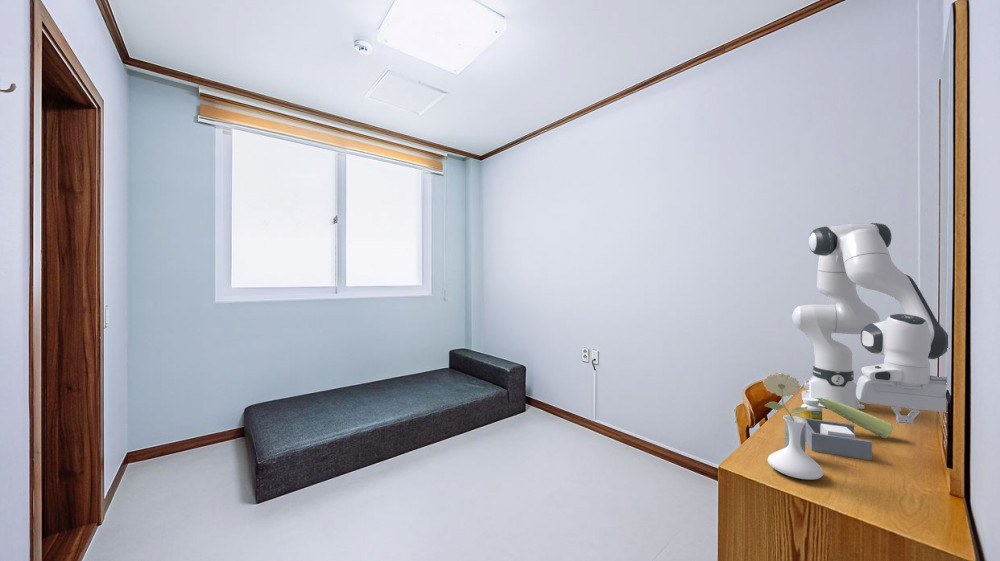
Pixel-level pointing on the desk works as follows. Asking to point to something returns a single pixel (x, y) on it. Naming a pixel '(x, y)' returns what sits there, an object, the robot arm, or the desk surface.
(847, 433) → the white cube
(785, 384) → the flower in vase
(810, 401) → the supplement bottle
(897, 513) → the desk surface
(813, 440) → the box
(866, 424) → the tube
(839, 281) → the robot arm
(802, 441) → the grey hollow cylinder
